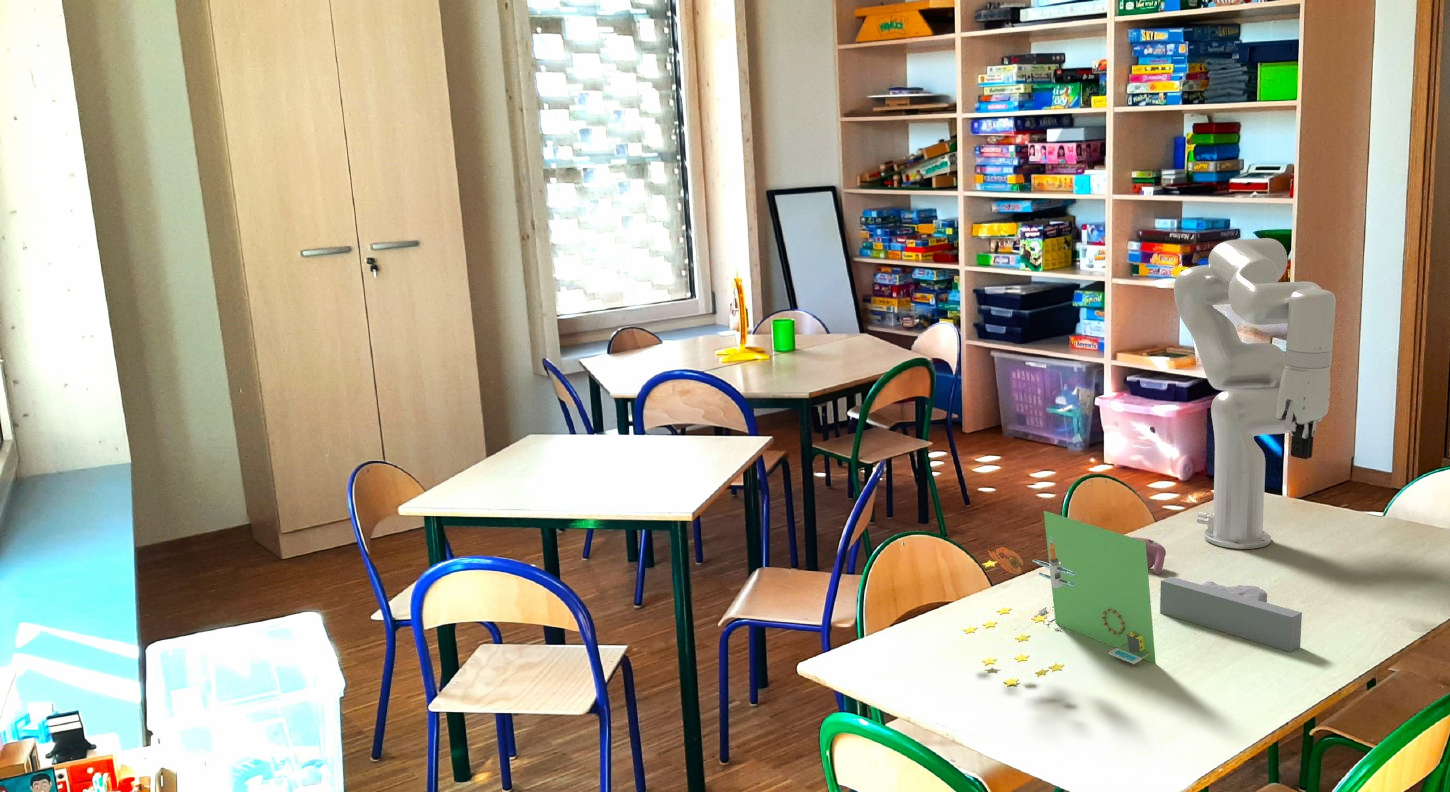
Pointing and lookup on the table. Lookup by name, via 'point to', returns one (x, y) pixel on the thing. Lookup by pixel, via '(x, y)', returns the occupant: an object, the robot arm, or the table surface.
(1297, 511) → the table surface
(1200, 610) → the board
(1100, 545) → the toy game set
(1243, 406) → the robot arm
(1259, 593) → the stone block
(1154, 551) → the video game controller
